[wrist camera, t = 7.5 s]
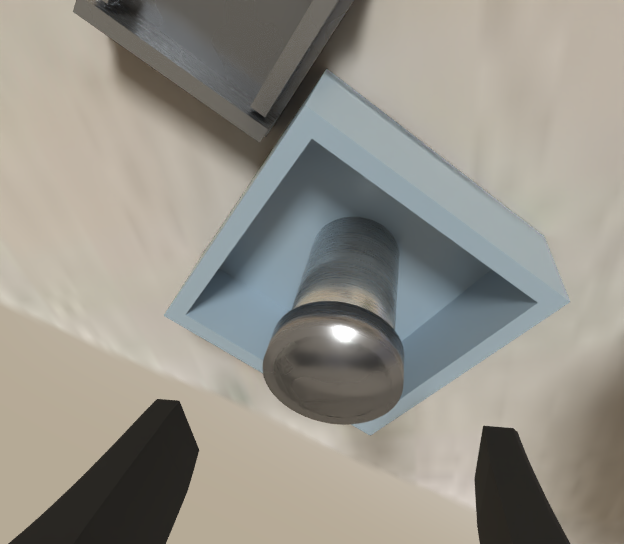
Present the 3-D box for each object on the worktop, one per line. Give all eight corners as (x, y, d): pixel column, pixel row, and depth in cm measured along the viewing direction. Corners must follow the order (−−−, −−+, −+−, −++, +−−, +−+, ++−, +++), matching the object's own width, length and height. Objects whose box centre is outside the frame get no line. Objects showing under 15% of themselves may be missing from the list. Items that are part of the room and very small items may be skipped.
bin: (544, 236, 16) (570, 301, 14) (376, 369, 22) (370, 435, 19) (326, 68, 14) (305, 104, 12) (199, 259, 20) (163, 315, 17)
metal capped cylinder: (430, 244, 17) (433, 373, 12) (370, 310, 19) (354, 441, 14) (337, 189, 16) (303, 302, 11) (286, 263, 18) (240, 384, 14)
